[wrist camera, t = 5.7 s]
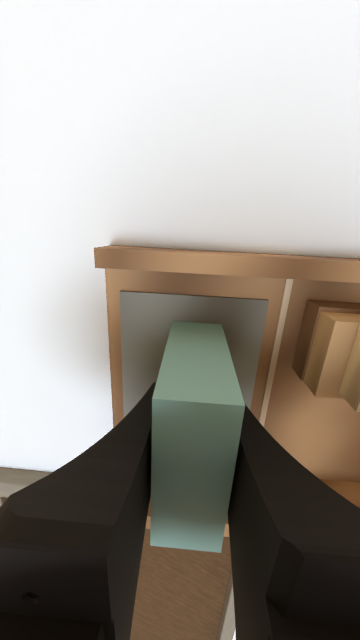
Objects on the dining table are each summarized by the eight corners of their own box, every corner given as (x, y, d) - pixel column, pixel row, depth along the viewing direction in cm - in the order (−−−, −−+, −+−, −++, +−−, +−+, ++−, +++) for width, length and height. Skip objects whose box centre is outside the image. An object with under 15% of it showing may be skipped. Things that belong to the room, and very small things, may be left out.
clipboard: (34, 671, 26) (-30, 450, 16) (43, 646, 27) (-10, 431, 17) (218, 694, 25) (274, 480, 15) (217, 668, 27) (267, 457, 17)
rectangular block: (221, 324, 12) (245, 405, 6) (210, 423, 14) (220, 552, 8) (172, 321, 12) (152, 398, 6) (168, 420, 14) (150, 545, 8)
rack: (497, 266, 11) (637, 281, 8) (394, 486, 16) (452, 559, 12) (109, 245, 12) (73, 251, 8) (119, 461, 17) (98, 524, 13)
